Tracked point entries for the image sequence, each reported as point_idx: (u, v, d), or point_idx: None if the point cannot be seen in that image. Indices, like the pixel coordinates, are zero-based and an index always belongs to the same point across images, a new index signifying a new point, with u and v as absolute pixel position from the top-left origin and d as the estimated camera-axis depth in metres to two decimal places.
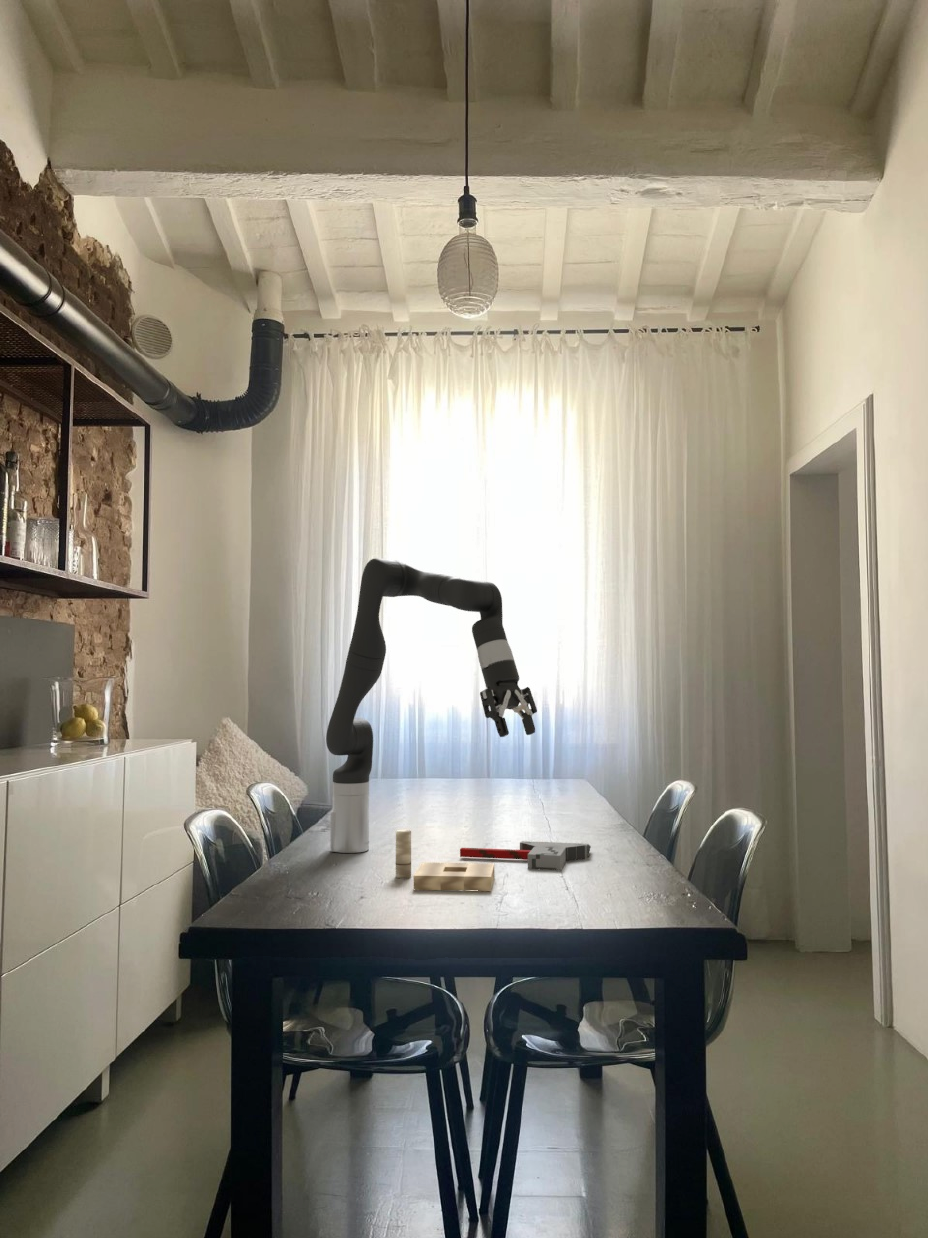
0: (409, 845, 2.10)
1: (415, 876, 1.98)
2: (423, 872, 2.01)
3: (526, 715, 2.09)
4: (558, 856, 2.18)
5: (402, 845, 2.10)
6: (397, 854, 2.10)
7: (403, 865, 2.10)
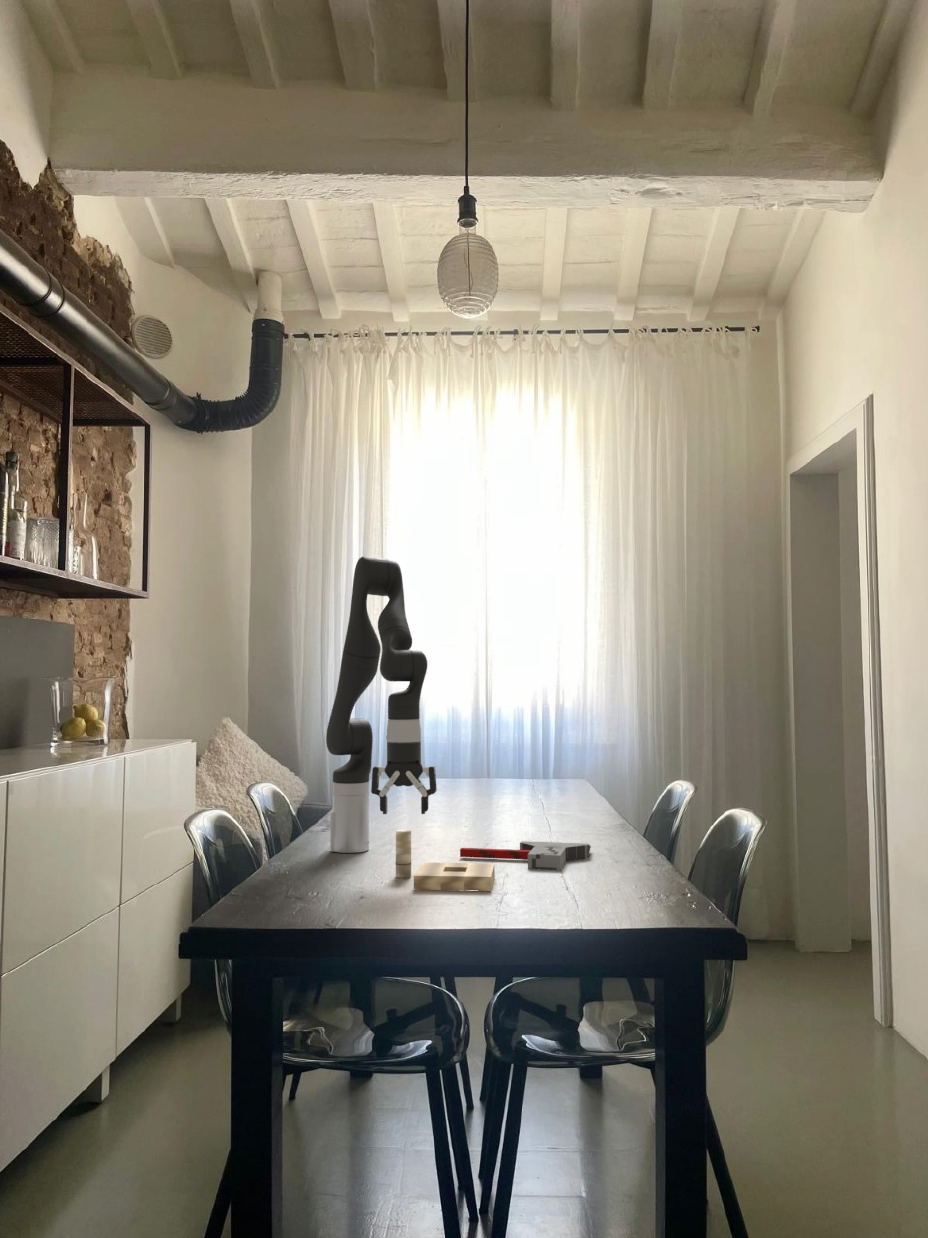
0: (409, 845, 2.10)
1: (415, 876, 1.98)
2: (423, 872, 2.01)
3: (422, 795, 2.11)
4: (558, 856, 2.18)
5: (402, 845, 2.10)
6: (397, 854, 2.10)
7: (403, 865, 2.10)
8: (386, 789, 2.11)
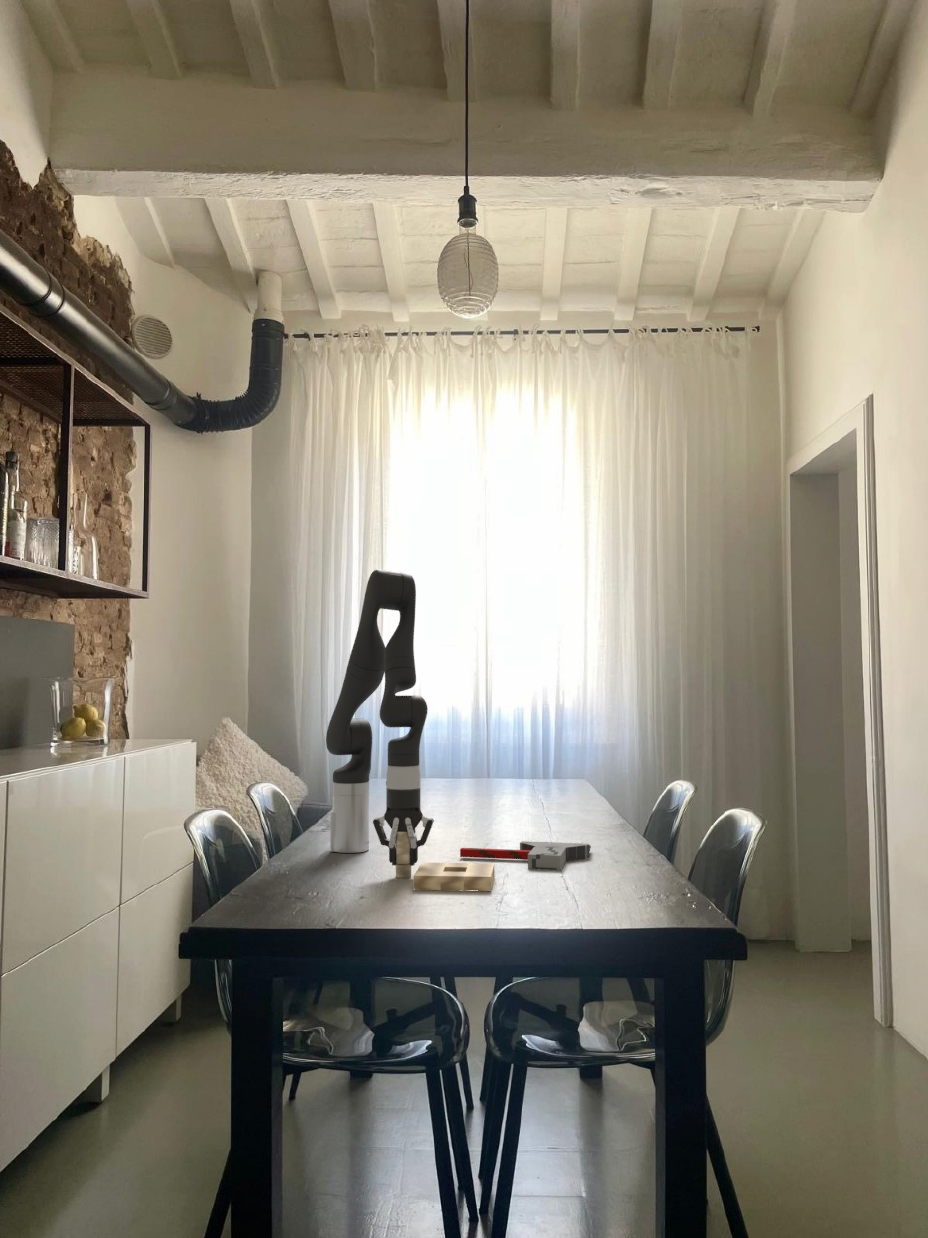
0: (409, 845, 2.10)
1: (415, 876, 1.98)
2: (423, 872, 2.01)
3: None
4: (558, 856, 2.18)
5: (402, 845, 2.10)
6: (397, 854, 2.10)
7: (403, 865, 2.10)
8: (393, 839, 2.10)
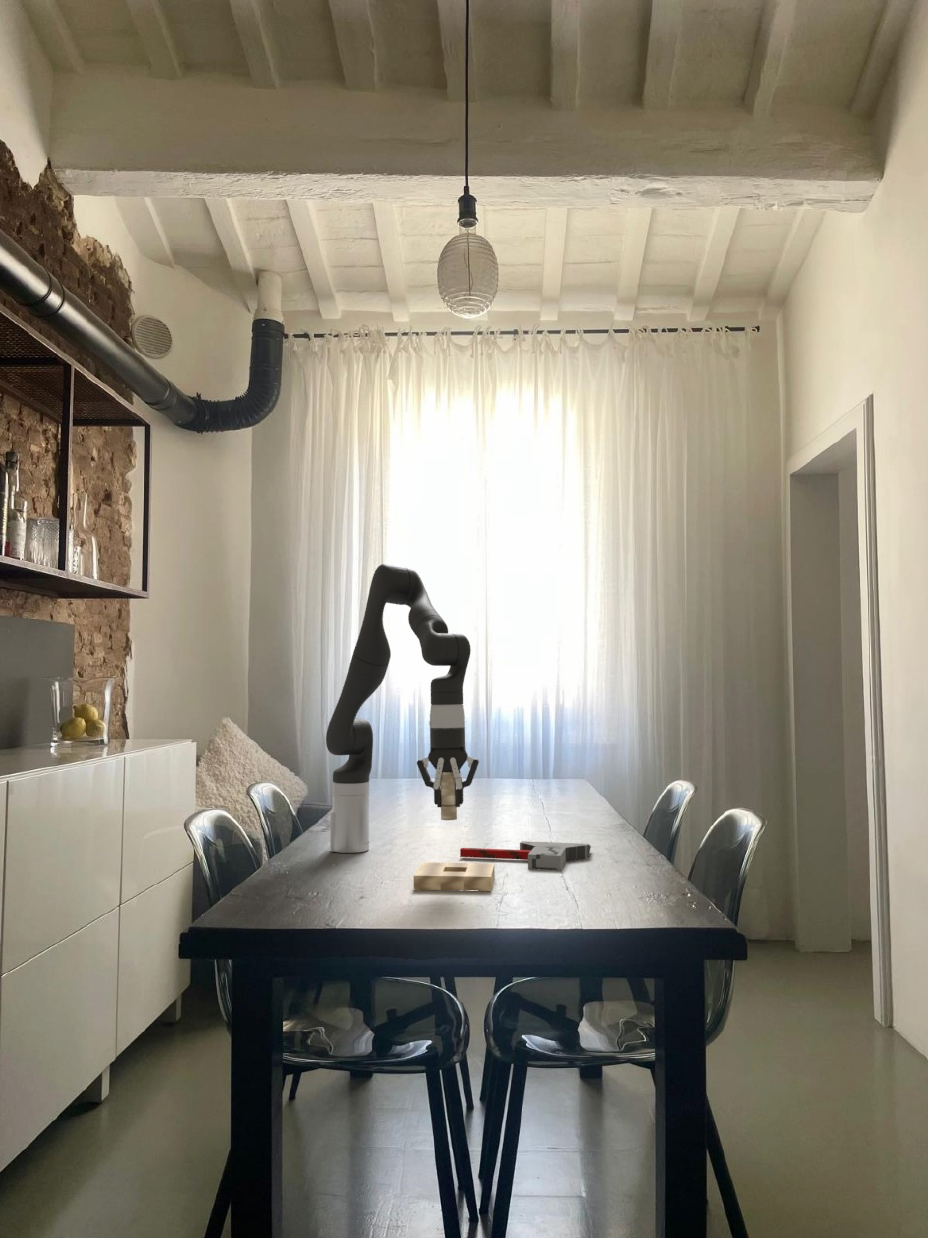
0: (454, 786, 2.05)
1: (415, 876, 1.98)
2: (423, 872, 2.01)
3: (457, 787, 2.05)
4: (558, 856, 2.18)
5: (447, 785, 2.04)
6: (442, 795, 2.04)
7: (448, 806, 2.04)
8: (438, 780, 2.05)
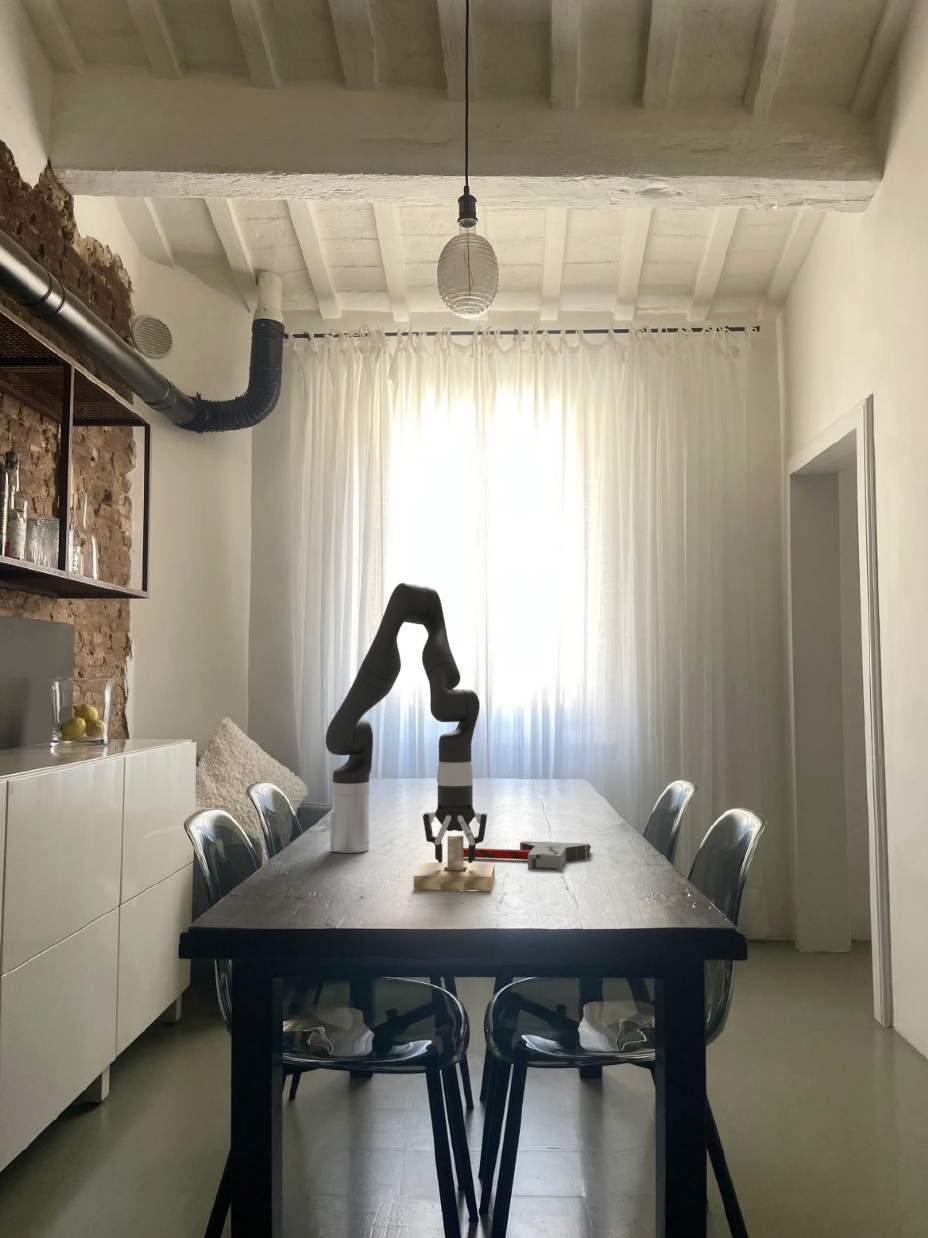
0: (462, 851, 2.03)
1: (415, 876, 1.98)
2: (423, 872, 2.01)
3: (469, 843, 2.04)
4: (558, 856, 2.18)
5: (455, 850, 2.03)
6: (449, 860, 2.03)
7: (455, 871, 2.03)
8: (440, 836, 2.04)
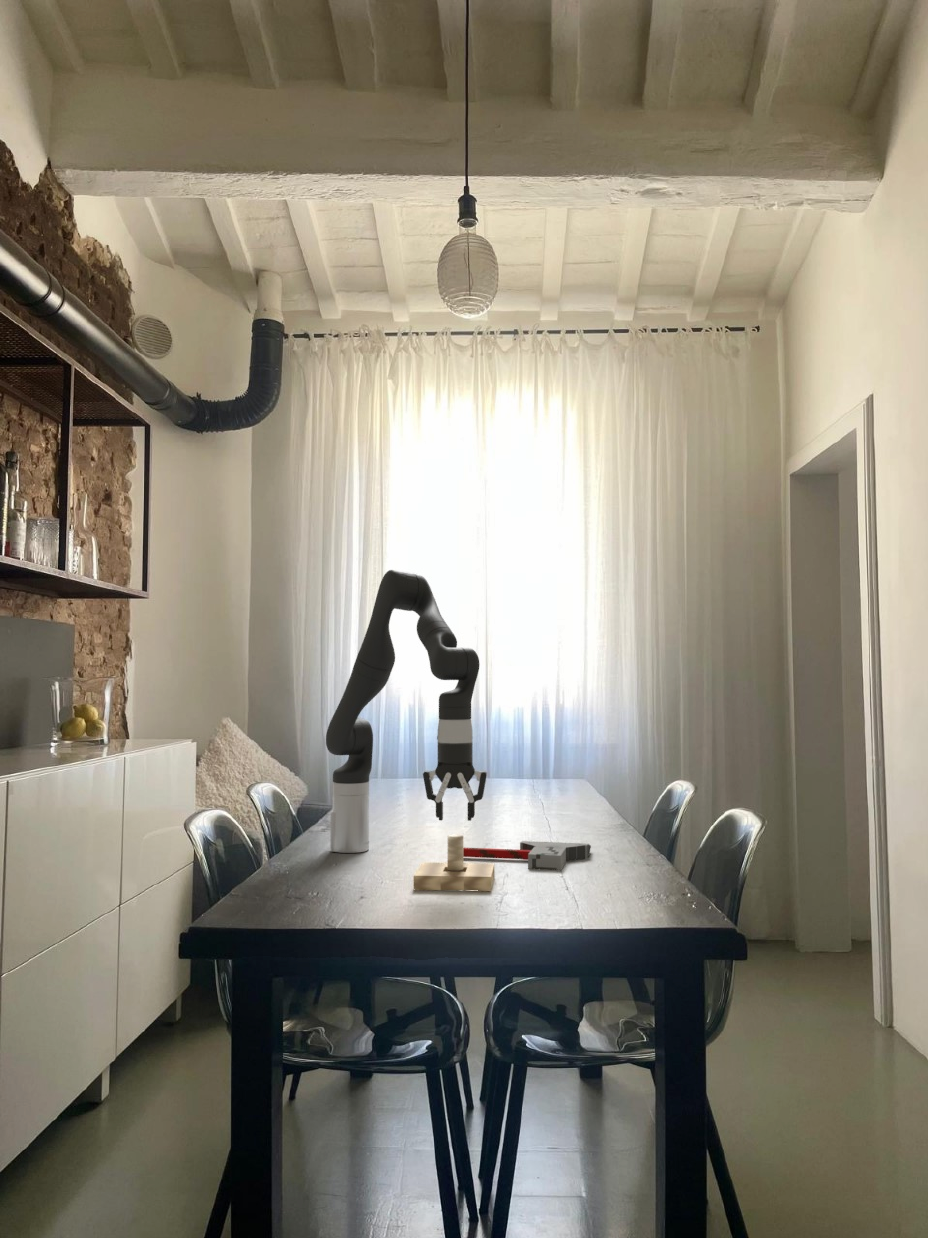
0: (462, 851, 2.03)
1: (415, 876, 1.98)
2: (423, 872, 2.01)
3: (468, 800, 2.04)
4: (558, 856, 2.18)
5: (455, 850, 2.03)
6: (449, 860, 2.03)
7: (455, 871, 2.03)
8: (441, 794, 2.04)
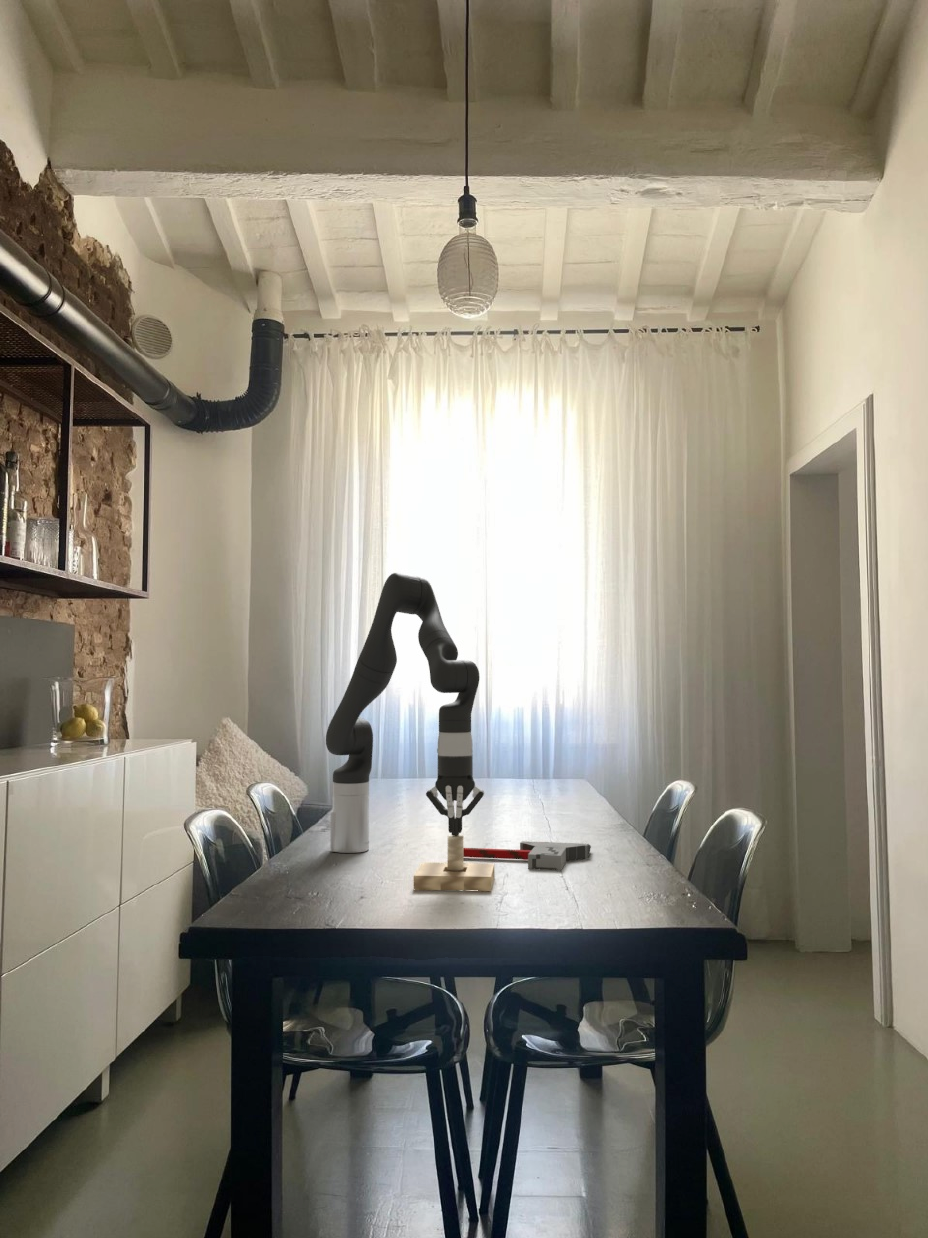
0: (462, 851, 2.03)
1: (415, 876, 1.98)
2: (423, 872, 2.01)
3: (456, 815, 2.04)
4: (558, 856, 2.18)
5: (455, 850, 2.03)
6: (449, 860, 2.03)
7: (455, 871, 2.03)
8: (451, 808, 2.04)
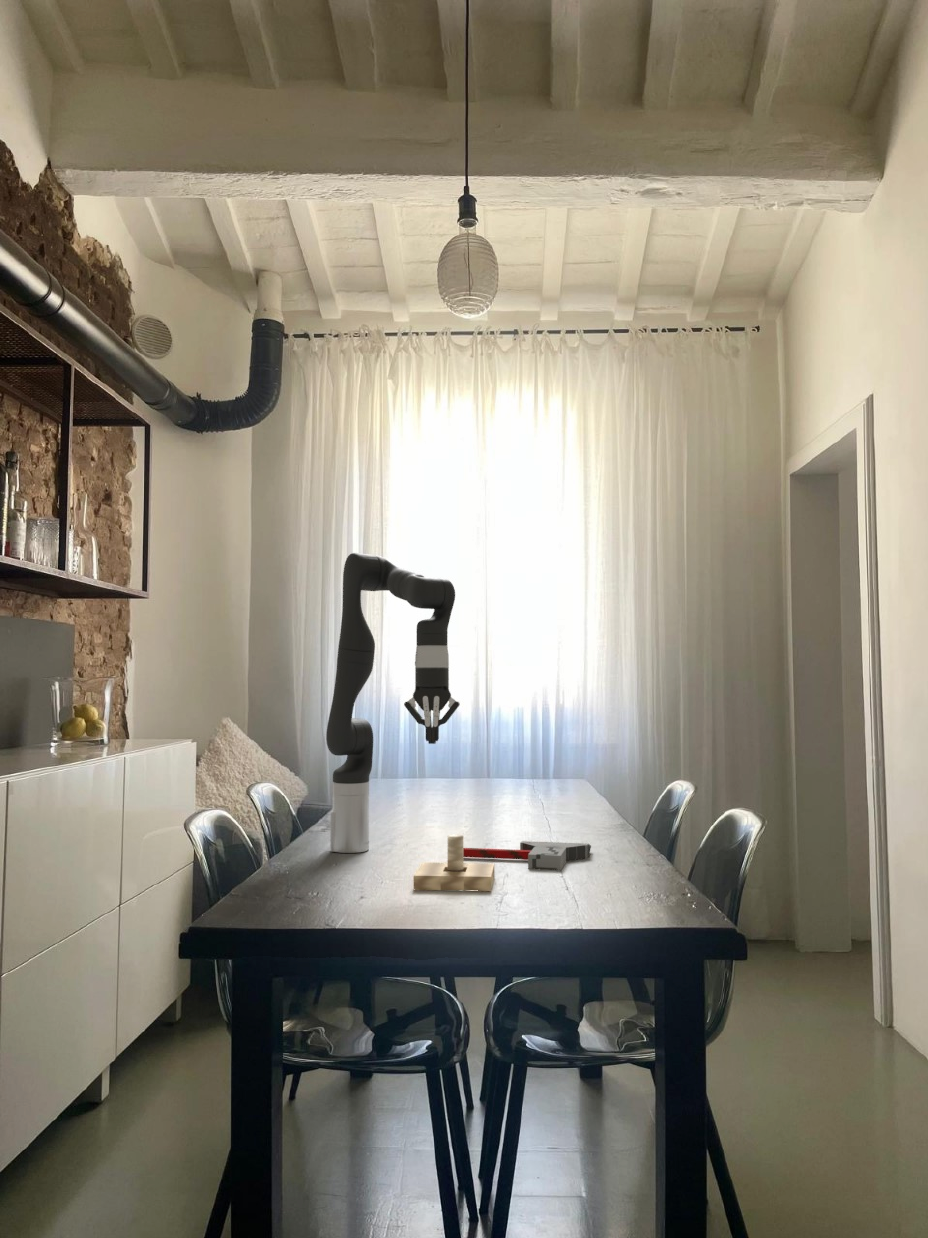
0: (461, 851, 2.03)
1: (415, 876, 1.98)
2: (423, 872, 2.01)
3: None
4: (558, 856, 2.18)
5: (455, 850, 2.03)
6: (449, 860, 2.03)
7: (455, 871, 2.03)
8: (427, 717, 2.14)
